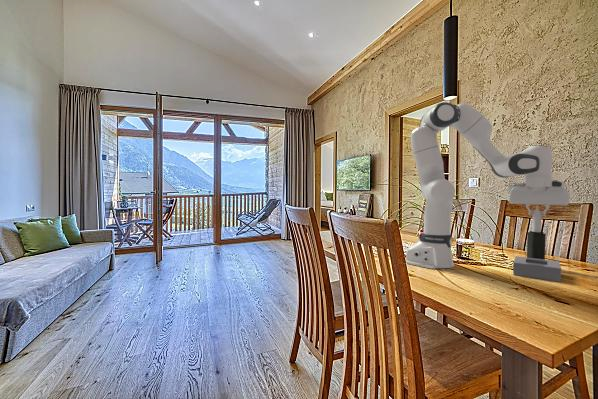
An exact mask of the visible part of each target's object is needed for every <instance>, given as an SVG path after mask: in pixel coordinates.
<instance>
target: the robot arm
mask: <svg viewBox="0 0 598 399" xmlns="http://www.w3.org/2000/svg"><path fill="white" fill-rule="evenodd" d="M448 127H450V128H453V129H455V130H456V131H457V132H458V133H460V135H462V137H464V139H466V141H468V142H469V143H470V144H471V146H473V148H474V149H475V150H476V151H477V152H478V153H479V154H480V156H481V157H482V158H484V159H485V161H486V162H487V163H488V164H489V166H490V169H491V171H492V172H493V175H496V176H497V177H499V178H504V179H505V178H510V177H518V176H524V175H525V180H524V181H525V182H523V183H522V182H521V183H520V182H519V183H511V184H509V185H508V193H509V195H508V196H509V198H508V203H509V204H512V205H513V204H515V205H525V208H526V209H527V211H528V212H527V214H528V215H529V216H531V215H532V216H533V212H534V210H531V209H530V207H531V206H530V205H543V206H545V209H544V210H541V211H540V212H541V216H546V215H547V211H548V210H549V209H550V206H551V205H552V206H568V205H569V204H570V195H569V190H568V189H567V188H566V186H567V185H566V184H567V183H566V182H565V181H560V180H557V179H553V174H552V168H553V152H552V151H553V150H552V149H551V148H550V147H549V146H547V145H537V144H536V145H530V146H528V147H527V148H526V149H524V150H522V151H519V152H517V153H513V154H509V155H506V154H504V153H502V152H500V151H499V149H498V148H497V147H496V146H495V145H494V144H493V143H492V142H491V139H490V137H491V135H492V131H493V125H492V124H491V122H490V120H489V119H488V118H487V117H486V116H485V115H483V114H482V113H481V112H480V111H478V110H477V109H476V108H475V107H473V106H471V105H470V104H468V103H465V102H462V103H458V104H453V103H451V102H448V101H447V102H445V101H444V102H439V103H437V104H435V105H433V106H432V107H431V108H430V109H428V110H427V111H426V113H425V114H424V115H422V117H421V119H420V122H419V126H418V127H416V128H414V129H413V130H412V131H411V132H410V145H411V150H412V151H411V152H412V154H413V155H412V156H413V158H414V162H415V165H416V169H417V175H418V179H419V185H420V191H421V195H422V197H423V199H425V205H424V206H425V207H424V213H423V232H421V233H420V234H418V239H419V240H418V241H416V242H415V243H413V244H412V245H410V246H409V247H407V249H406V252H405V256H406V262H407V263H406V264H408V265H413V266H417V267H421V268H427V269H431V270H434V269H451V268H454V267H455V263H454V261H453V255H452V245H453V238H452V234H451V225H452V224H451V221H452V220H451V217H452V211H453V205H454V198H455V193H456V188H455V186H454V185H453V183H452V182H451V181H449V180H447V179H446V178H445V170H444V169H445V168H444V159H443V156H442V153H441V150H440V146H439V142H438V138H437V137H438V133H439V132H442V131H444V130H446V129H447V128H448Z"/></svg>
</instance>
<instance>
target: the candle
mask: <svg viewBox="0 0 598 399" xmlns="http://www.w3.org/2000/svg"><path fill="white" fill-rule="evenodd" d="M531 225H532V227H531V230H530V231H529V232H528V231H527V235H526V236H527V238H526V240H527V241H526V257H528V258H537V259H545V260H546V240H547V238H546V233H544V231H542V215H541V211H540V209H539V204H536V207H535V210H533V215H532V224H531Z"/></svg>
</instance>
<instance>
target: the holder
mask: <svg viewBox="0 0 598 399" xmlns="http://www.w3.org/2000/svg"><path fill="white" fill-rule="evenodd" d="M512 264H513V271H512V273H513V276H516V277H517V276H518V277H523V278H531V279H538V280H539V279H540V280H545V281H551V282H558V283H561V282H562V267H561V262H560V261H559V260H552V259H546V258H545V259H537V258H528V257H527V256H517V255H516V256H515V257H514V259H513V263H512Z"/></svg>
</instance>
